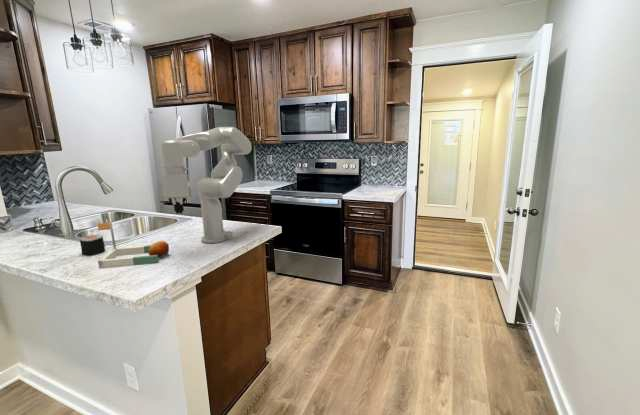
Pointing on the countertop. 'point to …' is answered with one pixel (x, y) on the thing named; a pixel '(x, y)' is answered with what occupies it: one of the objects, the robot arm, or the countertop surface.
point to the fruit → (159, 249)
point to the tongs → (124, 253)
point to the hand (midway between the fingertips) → (179, 212)
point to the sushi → (92, 245)
